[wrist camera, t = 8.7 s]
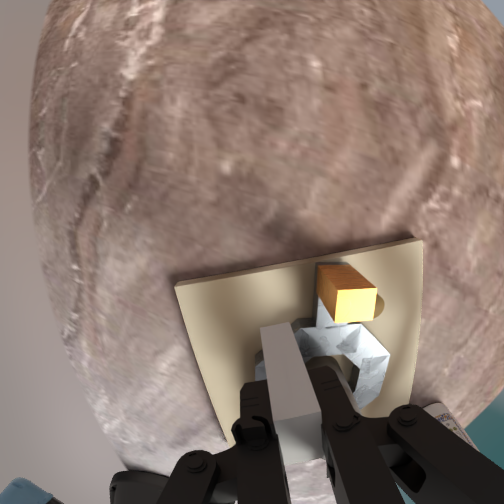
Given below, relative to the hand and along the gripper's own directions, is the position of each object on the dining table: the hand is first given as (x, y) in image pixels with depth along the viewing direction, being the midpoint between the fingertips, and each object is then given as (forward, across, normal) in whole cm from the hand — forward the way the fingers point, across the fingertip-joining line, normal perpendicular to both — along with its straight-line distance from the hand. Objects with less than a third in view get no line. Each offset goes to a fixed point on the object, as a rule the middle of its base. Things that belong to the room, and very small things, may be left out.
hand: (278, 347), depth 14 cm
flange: (+7, +4, -6) cm, 10 cm away
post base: (+9, +3, -8) cm, 12 cm away
